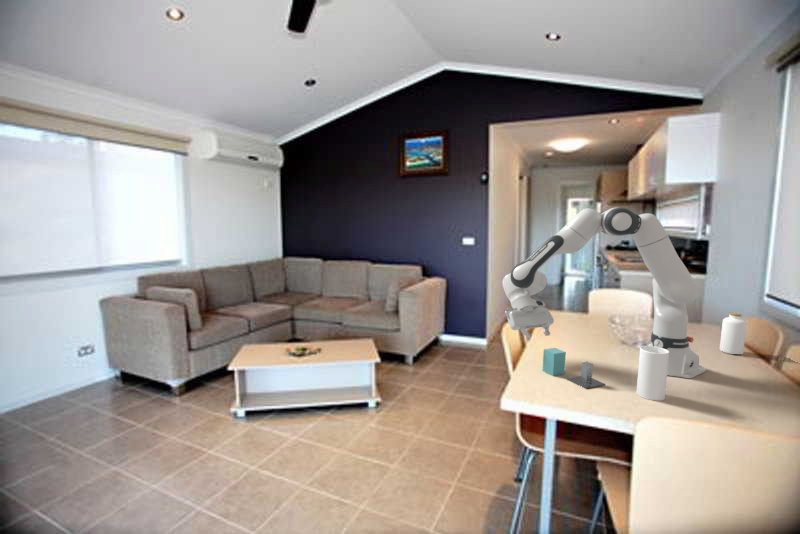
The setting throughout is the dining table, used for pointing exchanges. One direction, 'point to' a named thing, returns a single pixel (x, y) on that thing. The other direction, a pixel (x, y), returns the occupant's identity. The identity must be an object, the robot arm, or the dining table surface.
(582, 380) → the post
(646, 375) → the cup
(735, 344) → the potion bottle
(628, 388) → the dining table surface
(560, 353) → the teal rectangular block
